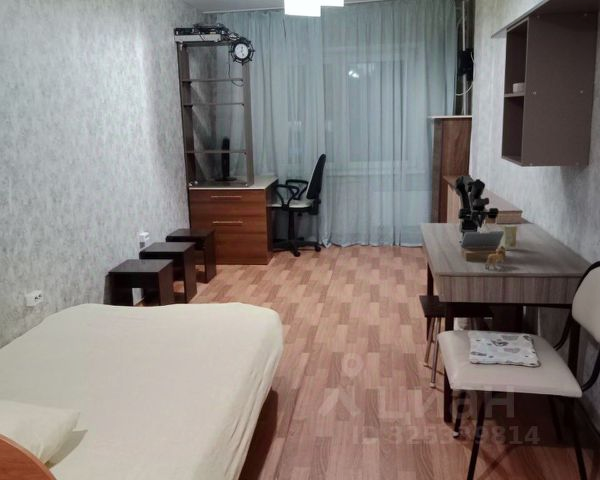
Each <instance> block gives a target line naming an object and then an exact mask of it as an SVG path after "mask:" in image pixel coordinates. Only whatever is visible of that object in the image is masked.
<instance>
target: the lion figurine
mask: <svg viewBox="0 0 600 480" xmlns="http://www.w3.org/2000/svg"><path fill="white" fill-rule="evenodd" d="M506 251H507V250H505V248H504V247H503V246H500V245H498V248H497V250H496V252H497V253H496V254H490V255H489V256H488V260H487V261H486V263H485V269H487V270H490V264H489V263H492V267H493V268H492V269H494V270H498V268H497V267H498V265H499V262H500V267H504V258H505V259H506V255H507V254H506ZM500 260H501V261H500Z"/></svg>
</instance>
